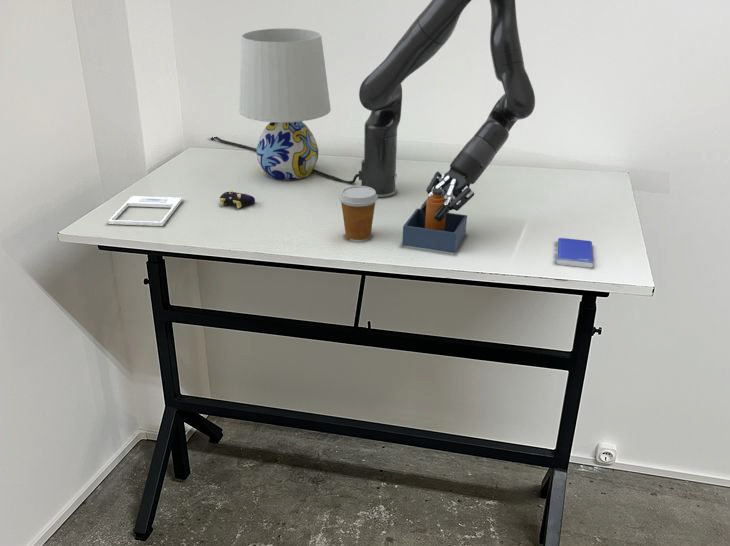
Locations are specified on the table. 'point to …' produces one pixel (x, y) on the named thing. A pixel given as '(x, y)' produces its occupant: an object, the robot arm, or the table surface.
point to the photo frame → (147, 202)
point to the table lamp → (284, 96)
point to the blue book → (575, 252)
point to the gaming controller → (236, 199)
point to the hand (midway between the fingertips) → (429, 215)
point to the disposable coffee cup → (358, 211)
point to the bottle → (434, 210)
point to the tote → (434, 232)
